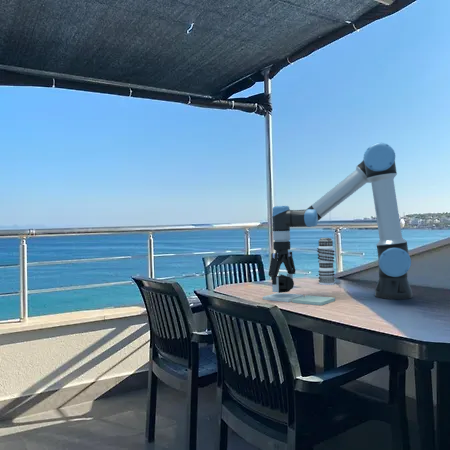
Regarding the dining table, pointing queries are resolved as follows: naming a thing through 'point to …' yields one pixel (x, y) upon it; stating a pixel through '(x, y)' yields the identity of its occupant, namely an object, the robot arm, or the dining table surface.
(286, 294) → the pale blue mat
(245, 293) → the dining table surface
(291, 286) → the end cap
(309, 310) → the dining table surface
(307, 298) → the sage mat
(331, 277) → the decorative candle
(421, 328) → the dining table surface
